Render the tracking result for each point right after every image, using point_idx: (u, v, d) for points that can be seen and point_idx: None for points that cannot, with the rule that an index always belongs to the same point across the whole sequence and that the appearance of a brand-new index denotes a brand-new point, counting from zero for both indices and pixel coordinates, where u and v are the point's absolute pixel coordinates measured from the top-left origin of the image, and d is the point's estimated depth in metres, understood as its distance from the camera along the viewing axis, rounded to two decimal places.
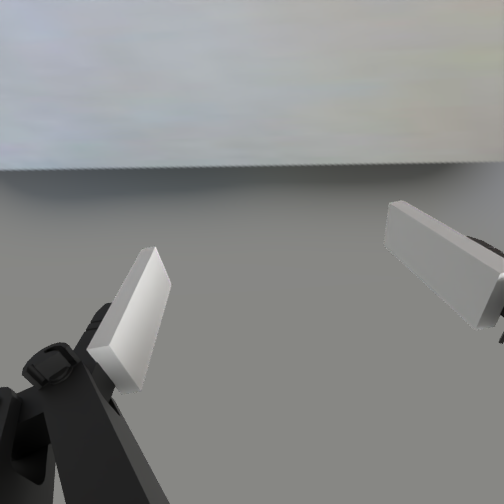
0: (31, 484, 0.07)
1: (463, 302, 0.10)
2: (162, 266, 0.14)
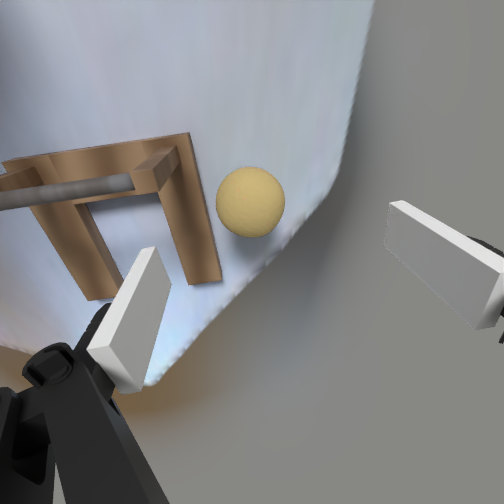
0: (31, 484, 0.07)
1: (463, 302, 0.10)
2: (162, 266, 0.14)
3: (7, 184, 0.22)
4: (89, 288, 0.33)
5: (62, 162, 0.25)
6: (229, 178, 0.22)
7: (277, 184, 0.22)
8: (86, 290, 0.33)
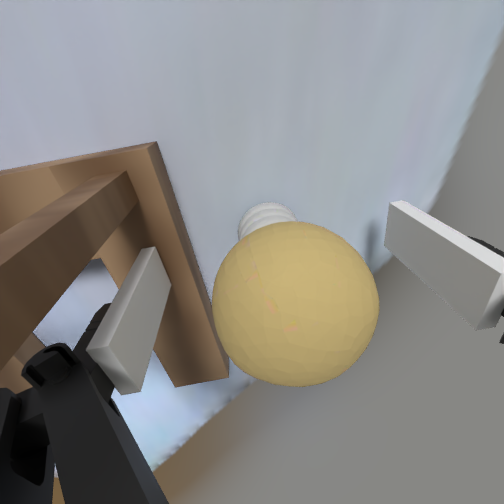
0: (30, 485, 0.07)
1: (464, 302, 0.10)
2: (162, 266, 0.14)
3: None
4: None
5: None
6: (244, 262, 0.08)
7: (366, 271, 0.09)
8: None
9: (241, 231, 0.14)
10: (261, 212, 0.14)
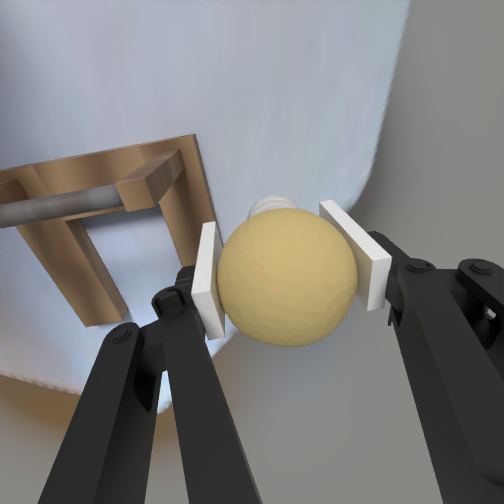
0: (143, 409, 0.08)
1: (360, 287, 0.11)
2: (219, 240, 0.16)
3: None
4: (86, 313, 0.29)
5: (49, 173, 0.21)
6: (242, 237, 0.10)
7: (346, 250, 0.10)
8: (83, 315, 0.29)
9: None
10: (267, 202, 0.16)
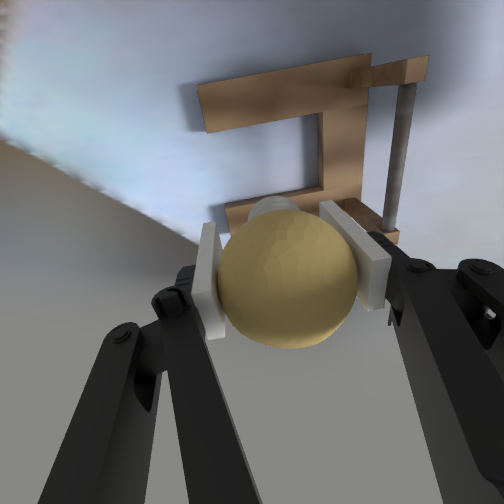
0: (143, 409, 0.08)
1: (360, 287, 0.11)
2: (219, 240, 0.16)
3: None
4: (217, 94, 0.26)
5: (359, 114, 0.28)
6: (243, 239, 0.10)
7: (346, 251, 0.10)
8: (214, 89, 0.26)
9: (249, 220, 0.16)
10: (267, 204, 0.16)
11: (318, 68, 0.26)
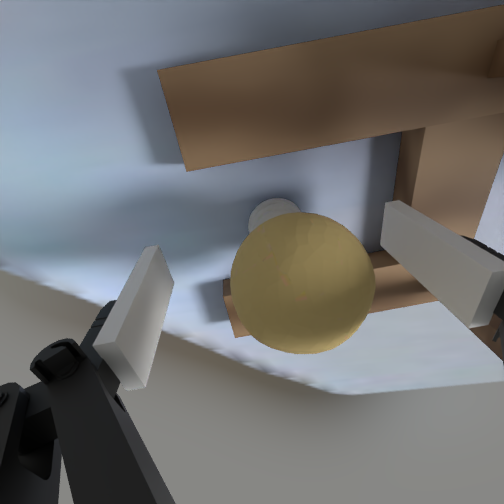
0: (38, 479, 0.07)
1: (457, 301, 0.10)
2: (165, 264, 0.14)
3: None
4: (207, 90, 0.12)
5: (497, 132, 0.14)
6: (260, 245, 0.10)
7: (364, 253, 0.10)
8: (199, 79, 0.12)
9: (252, 224, 0.16)
10: (270, 206, 0.15)
11: (434, 31, 0.11)
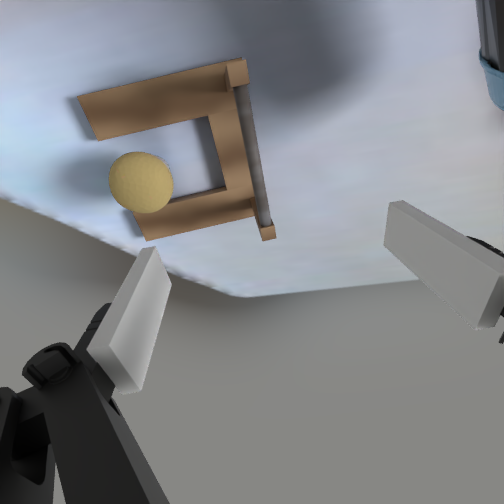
0: (31, 484, 0.07)
1: (463, 302, 0.10)
2: (162, 266, 0.14)
3: None
4: (100, 103, 0.28)
5: None
6: (114, 162, 0.26)
7: (156, 164, 0.26)
8: (95, 99, 0.27)
9: None
10: None
11: (193, 74, 0.27)
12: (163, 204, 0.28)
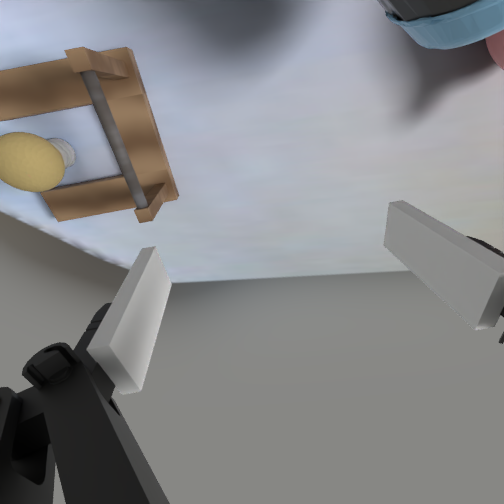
0: (31, 484, 0.07)
1: (463, 302, 0.10)
2: (162, 266, 0.14)
3: (111, 76, 0.26)
4: None
5: (138, 104, 0.31)
6: None
7: (36, 144, 0.27)
8: None
9: None
10: None
11: None
12: (49, 184, 0.29)
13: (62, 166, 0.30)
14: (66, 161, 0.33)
